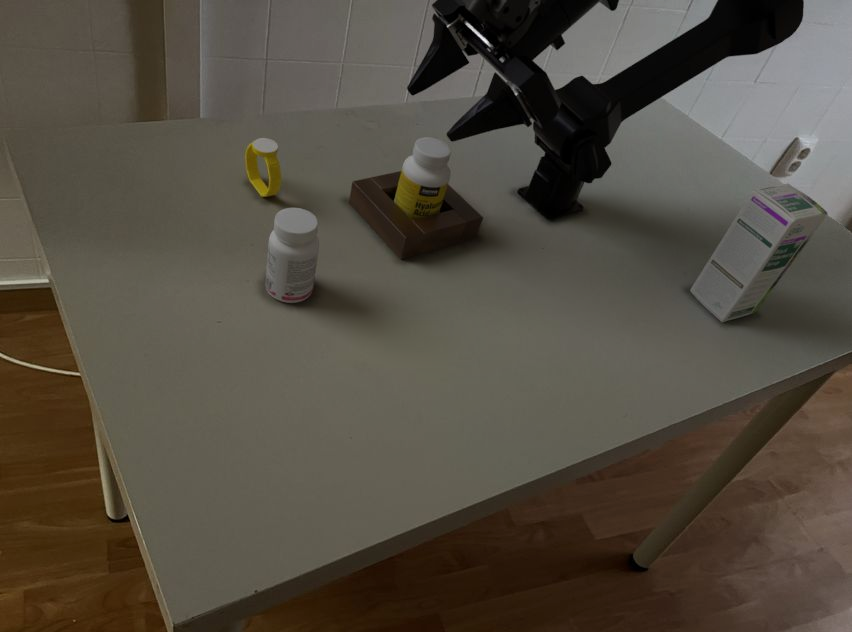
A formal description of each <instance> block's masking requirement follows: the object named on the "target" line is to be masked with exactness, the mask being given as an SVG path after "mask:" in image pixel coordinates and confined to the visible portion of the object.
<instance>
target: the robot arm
mask: <svg viewBox="0 0 852 632" xmlns="http://www.w3.org/2000/svg"><path fill="white" fill-rule="evenodd" d="M619 2H620V0H435V1H434V2H433V3H432V4H431V7H432V9H433V11H434V12H435V13H433V15H432V18H431V20H432V22H433V36H432V40H431V43H430V45H429V47H428V49H427V51H426V53H425V55H424V57H423V58H422V60H421V62H420V64H419V65H418V67H417V69H416V71H415V72H414V74H413V76H412V78H411V80H410V81H409V83H408V85H407V87H406V90H407V92H408V93H409V94H410V95H411V96H415V95H417V94H420V93H422V92H423V91H425V90H428V89H430V87H433V86H434V85H435V84H437V83H439V82H441V81H442V80H444V79H445V78H447V77H449V76H451V75H452V74H454V73H456V72H457V71H459V70H461V69H463V68H464V67H466V66H467V65H468V64H470V61H469V59H468V57H471V56H476V55H480V56H481V57H482V58H483V59H484V60H485V61H486V62H487V63H488V64H489V65H490V66H491V67H492V68H493V69H494V70H496V71H497V72H496V71H495V72H494V73H493V75H492V78H491V81H490V83H489V86H488V88H487V91H486V92H485V94H484V95H483V96H482V97H481V98H480V99H478V101H477V102H476V103H474V105H472V107H471V108H469V109H468V110H467V111H466V112H465V113H464V114H463V115H462V116H461V117H460V118H459V119H458V120H457V121H456V122H455V123H454V124H453V125H452V127H451V128H449V130H448V131H447V132H446V135H445V136H446V137H447V138H448V140H449V141H450V142H452V143H454V142H457V141H461V140H464V139H468V138H470V137H474V136H478V135H481V134H484V133H489V132H491V131H497V130H500V129H506V128H510V127H516V126H520V125H525V126H526V128H529V127H531V126H532V130H533V132H534V144H535V145H536V146H538V147H539V148H540V149H541V150H542V151H543V152H544V155H543V156H541V157H540V159H539V162H538V164H537V166H536V169H535V170H534V171H533V175H532V176H531V179H530V182H529V185H525V186H522V187H519V188H518V189H517V192H516V193H517V194H518V195H519V196H520V197H521V198H522V199H524V201H525V202H527V203H528V204H529V205H530V206H531V207H532V208H534V209H535V210H536V211H537V212H538V213H539V214H540V215H541V216H543V217H544V218H545V219H546V220H548V221H554V220H557V219H560V218H563V217H568V216H571V215H574V214H577V213H581V212H583V211H584V209H585V206H584V205H583V204H582V203H581V202H579V201H578V200H577V199H578V198H579V195H580V194H581V191H582V188H583V186H584V184H592V183H593V181H594V180H597V179H602V178H603V177H604V175H605V174H606V173H607V171H608V170H609V169H610V167H611V166H612V164H613V162H612V161H611V158H610V156H609V155H608V152H607V151H606V148H607V147H608V146H609V145H610V144H611V143H612V141H613V139H614V137H616V134H617V132H618V130H619V128H620V126H621V124H622V123H623V122H624V121H625V120H627V119H629V118H630V117H631V116H634V115H635V114H637V113H638V112H640V111H641V110H643V109H645V108H646V107H648V106H649V105H651V104H653V103H654V102H656V101H658V100H659V99H661V98H663V97H664V96H666V95H667V94H669V93H671V92H672V91H674V90H676V89H678V88H679V87H680V86H682V85H684V84H685V83H687V82H690V80H692V79H694V78H695V77H697V76H698V75H700V74H702V73H703V72H705V71H707V70H708V69H710V68H712V67H714V66H715V65H716V64H718V63H720V62H721V61H723V60H725V59H726V58H730V57H741V56H752V55H758V54H761V53H763V52H764V51H767V50H769V49H771V48H774V47H775V46H777V45H780V44H782V43H783V42H784V41H786V40H787V39H789V38H790V37H791V36H793V35H794V34H795V33H796V32H797V30H798V29H799V28H800V26H801V25H802V24H801V23H802V22H803V19H804V5H805V0H717V1H716V2H715V5H714V6H713V8H712V10H711V12H710V13H709V16H708V17H707V18H706V19H704V20H703V21H702V22H699V23H698V24H696V25H695V26H694V27H692V28H690V29H688V30H687V31H685V32H684V33H682V34H680V35H679V36H676V37H675V38H674V39H671V40H670V41H669V42H667V43H666V44H663V45H662V46H661V47H658V49H656V50H654V51H653V52H651V53H649V54H648V55H646V56H644V57H643V58H641V59H640V60H638V61H636V62H634V63H633V64H631V65H630V66H628V67H626V68H624V69H623V70H622V71H620V72H618V73H616V74H615V75H613V76H611V77H610V78H609V79H607V80H605V81H603V82H600V83H592V82H591V81H590V80H588V78H586V77H585V76H584V75H578V76H576V77H574V78H572V79H571V80H570V81H569V82H567V83H566V84H565V85H563V86H562V87H559V88H557V89H555V87H554V85H553V83H552V81H551V80H550V79H551V78H549V76H548V73H547V72H546V71H545V70H544V69H543V68H542V67H541V66H539V65H538V64H537V63H536V62H535V61H534V60H535V59H536V58H537V57H538V56H540V55H541V54H542V53H543V52H545V50H547V48H549V47H550V46H551V47H552V48H553V49H555V50H556V51H559V50H560V49H561V48H562V47H563V46H564V45H566V42H565V39H564V38H563V34H565V33H566V32H567V31H568V30H569V29H570V28H571V27H573V26H574V25H575V24H576V23H577V22H578V21H580V20H581V19H582V18H583V17H584V16H585V15H586V14H588V13H589V12H590V11H591V10H592V9H593V8H594V7H595V6H597V5H598V4H599V3H600V4H601V5H603V6H604V7H605V8H607V9H608V10H610V11H611V12H615V11H616V10H617V8H618V5H619ZM467 56H468V57H467ZM501 59H502V60H503V61H502V60H501ZM498 73H499V74H500V75H501V76H502V77H501V76H500V75H499V74H498ZM503 78H504V79H505V80H504V79H503ZM532 120H533V122H532Z"/></svg>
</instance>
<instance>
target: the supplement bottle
mask: <svg viewBox="0 0 852 632" xmlns="http://www.w3.org/2000/svg"><path fill="white" fill-rule="evenodd" d="M413 146H414V147H413V149H412V154H411V155H409V156H408V157H407V158H406V159H405V160H404V162H403V163H402V168H401V170H400V171H401V175H400V179H399V183H398V187H397V191H396V195H395V199H394V203H395V204H396V205H397V206H398V207H399V208H400V209H401V210H402V211H403V212H404V213H405V214H406V215H407V216H408V217H409V218H410V219H411V220H414V219H418V218H422V217H426V216H430V215H434V214H438V213H439V212H440V208H441V205H442V202H443V199H444V196H445V192H446V189H447V186H448V185H449V182H450V179H451V170H450V167H449V166H448V163H449V162H450V157H451V154H452V149H451V147H450V146H449V145H448V144H447V143H446V142H445V141H443V140H441V139H438V138H434V137H429V136H428V137H427V136H426V137H420V138H418V139H416V141H415V143H414V145H413Z"/></svg>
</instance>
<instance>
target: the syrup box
mask: <svg viewBox="0 0 852 632" xmlns="http://www.w3.org/2000/svg"><path fill="white" fill-rule="evenodd" d="M827 216H828V212H827V210H825V208H823V207H822V206H821V204H818V202H816V201H815V200H814V199H813V198H811V197H810V196H808V195H807V194H806V193H804V192H803V191H801V190H799V189H798V188H796V187H795V186H792V185H791V184H790V183H785V184H783V185H779V186H770V187H764V188H760V189H753V190H752V191H751V193H750V194H749V196H748V198H747V200H746V201H745V202H744V204H743V205H742V207H741V208H740V210H739V212H738V214H737V215H736V216H735V218H734V220H733V221H732V223H731V224H730V225H729V228H728V229H727V230H726V232H725V233H724V235H723V237H722V238H721V240H720V242H719V243H718V245H717V246H716V248H715V250H714V251H713V252H712V255H711V256H710V257H709V259H708V260H707V262H706V264H705V265H704V267H703V269H702V270H701V272H700V273H699V275H698V276H697V278H696V279H695V281H694V282H693V284H692V285H691V287H690V290H689V292H690V293H691V294H692V295H693V297H694V298H695V299H697V301H698V302H699V303H701V305H703V307H705V308H706V309H707V310H708V311H709V312H710V313H711V314H712V315H713V316H714V317H715V318H717V319H718V320H719V321H720V322H721V323H727V321H731V320H736V319H739V318H743V317H745V316H746V317H747V316H749V315H752V314H756V313H757V311H758V310H759V308H760V307H761V306H762V304H763V303H764V302H765V300H766V299H767V297H769V294H770V293H771V292H772V291H773V290H774V288H775V286H776V285H777V284H778V283H779V281H780V280H781V279H782V277H783V275H785V273H786V272H787V270H788V269H789V268H790V267H791V266H792V264H793V262H794V261H795V259H796V258H797V257H798V256H799V255H800V253H801V252H802V250H803V249H804V248H805V246H806V245H807V244H808V242H809V241H810V240H811V238H812V237H813V235H814V234H815V233H816V231H817V230H818V229H819V227H820V226H821V225H822V223H823V222H824V221H825V219H826V218H827Z"/></svg>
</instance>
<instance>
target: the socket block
mask: <svg viewBox="0 0 852 632" xmlns="http://www.w3.org/2000/svg"><path fill="white" fill-rule="evenodd" d="M401 171H402V170H399V171H394V172H389V173H386V174H380V175H375V176H371V177H365V178H361V179H357V180H352V182H351V187H350V193H349V199H348V203H349V205H350V206H351V207H352V209H354V211H356V212H357V214H358V215H359V216H360V217H361V218H362V220H364V222H365V223H366V224H367V225H368V226H369V227H370V228H371V229H372V230H373V231H374V232H375V234H376V235H377V236H378V237H379V238H380V239H381V240H382V242H384V243H385V245H386V246H387V247H388V248H389V249H390V250H391V251H392V252H393V253H394V255H395V256H397V258H398V259H399V260H401V261H402V260H404V259H408V258H412V257H415V256H418V255H423V254H425V253H426V254H427V253H429V252H432V251H437V250H440V249H443V248H446V247H450V246H454V245H457V244H460V243H464V242H468V241H471V240H475V239H477V237H478V234H479V231H480V228H481V226H482V224H483V223H482V222H483V220H484V216H483V215H481V214H480V213H479V211H477V210H476V209H475V208H474V207H473V206H472V205H471V204H470V203H469V202H468V201H466V199H465V198H463V197H462V196H461V194H459V193H458V192H457V191H456V190H455V189H454V188H453V187H452V186H451V185H450V184H448V186H447V189H446V192H445V196H444V199H443V202H442V205H441V208H440V212H439V213H438V214H434V215H430V216H426V217H422V218H418V219H414V220H411V219H410V218H409V217H408V216H407V215H406V214H405V213H404V212H403V211H402V210H401V209H400V208H399V207H398V206H397V205H396V204H395V203H394V199H395V195H396V191H397V187H398V183H399V179H400V175H401Z"/></svg>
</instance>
